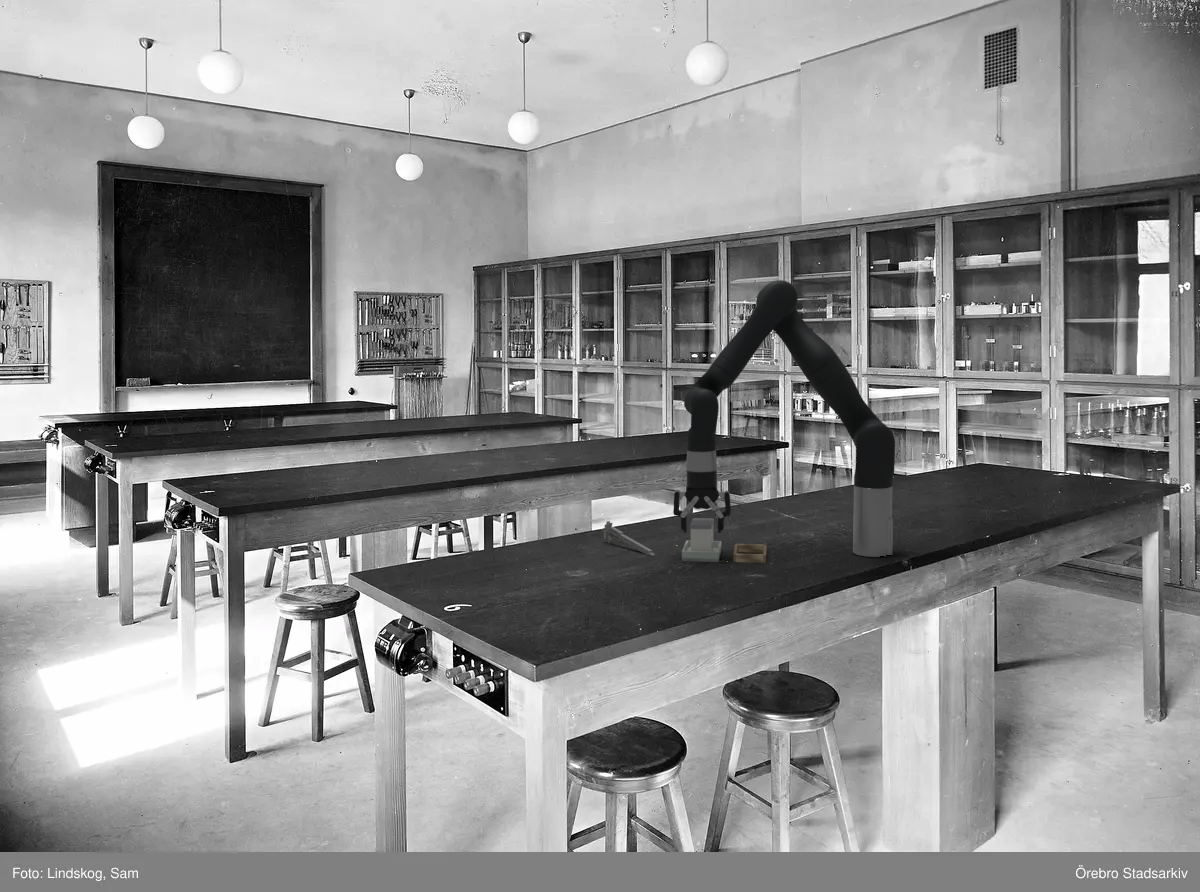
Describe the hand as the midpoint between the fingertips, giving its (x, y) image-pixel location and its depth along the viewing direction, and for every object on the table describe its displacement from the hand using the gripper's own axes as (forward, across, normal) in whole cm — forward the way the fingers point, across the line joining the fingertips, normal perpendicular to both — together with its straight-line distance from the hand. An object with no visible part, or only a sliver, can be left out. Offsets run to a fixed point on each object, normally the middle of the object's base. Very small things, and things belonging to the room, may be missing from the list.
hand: (702, 532), depth 230 cm
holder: (+6, -12, 0) cm, 13 cm away
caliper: (+6, +20, -6) cm, 22 cm away
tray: (+6, 0, 0) cm, 6 cm away
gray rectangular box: (+5, 0, 0) cm, 5 cm away
